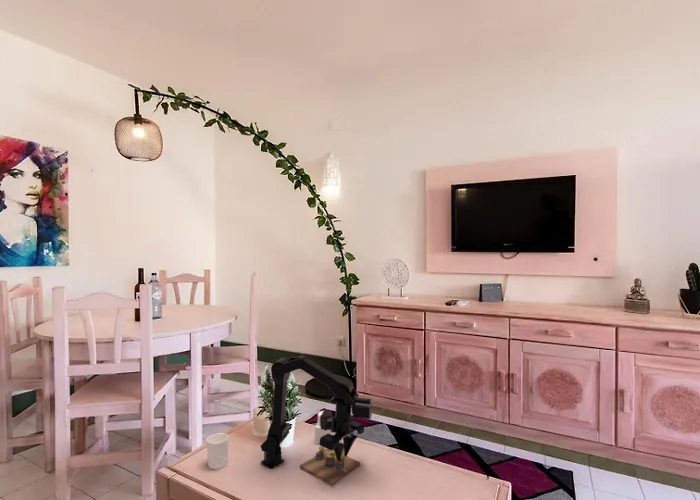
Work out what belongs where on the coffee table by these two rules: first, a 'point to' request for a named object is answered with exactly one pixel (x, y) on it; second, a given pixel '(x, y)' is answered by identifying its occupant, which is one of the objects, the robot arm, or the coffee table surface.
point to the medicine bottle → (318, 430)
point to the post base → (329, 468)
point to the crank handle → (332, 454)
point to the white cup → (217, 450)
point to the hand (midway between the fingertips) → (341, 458)
